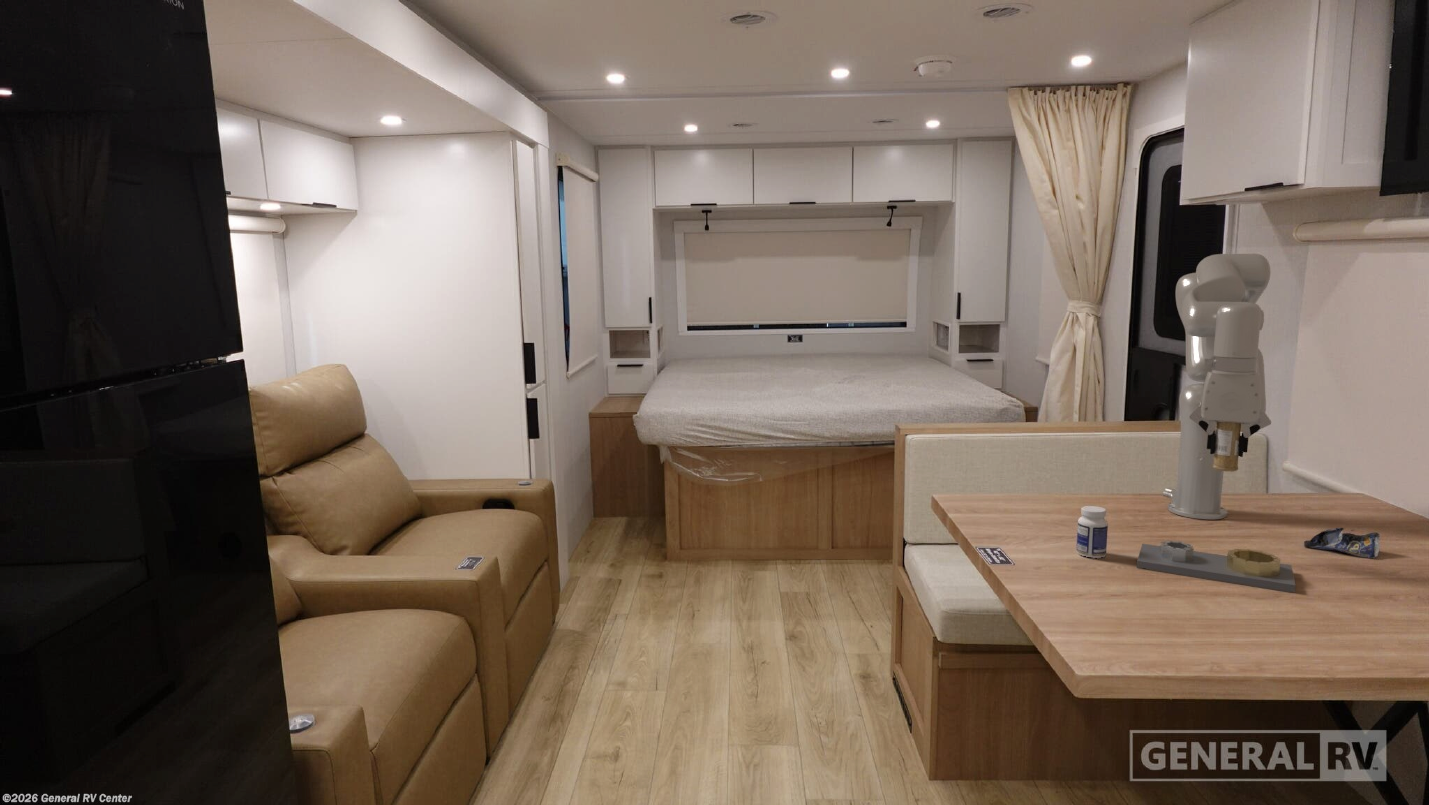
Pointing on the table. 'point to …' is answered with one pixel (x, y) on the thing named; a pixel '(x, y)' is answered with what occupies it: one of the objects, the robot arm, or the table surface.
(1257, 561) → the brass collar
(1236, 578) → the mounting board
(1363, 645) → the table surface
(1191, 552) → the steel collar
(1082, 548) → the pill bottle
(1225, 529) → the table surface
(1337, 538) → the snack package
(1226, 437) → the sprinkles bottle
